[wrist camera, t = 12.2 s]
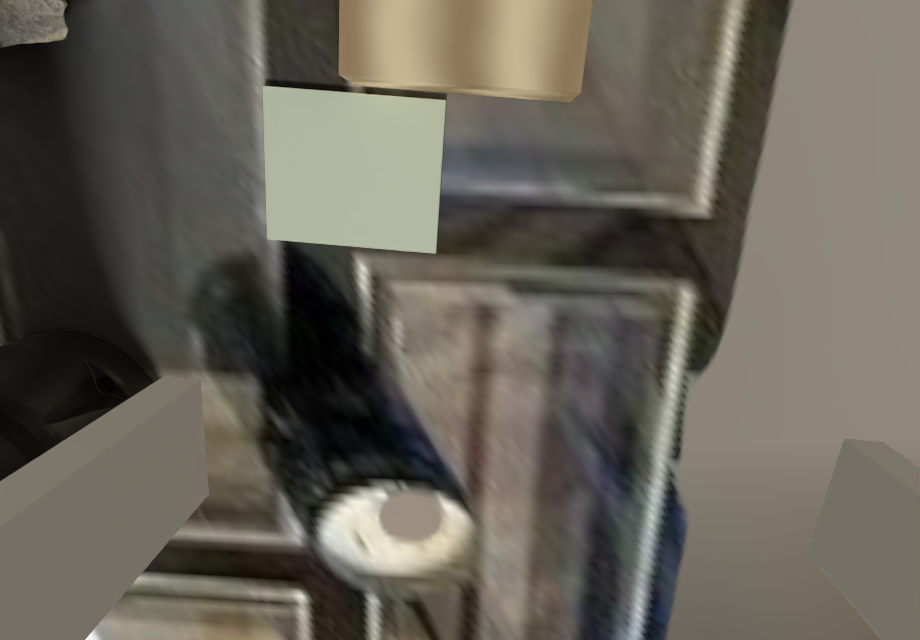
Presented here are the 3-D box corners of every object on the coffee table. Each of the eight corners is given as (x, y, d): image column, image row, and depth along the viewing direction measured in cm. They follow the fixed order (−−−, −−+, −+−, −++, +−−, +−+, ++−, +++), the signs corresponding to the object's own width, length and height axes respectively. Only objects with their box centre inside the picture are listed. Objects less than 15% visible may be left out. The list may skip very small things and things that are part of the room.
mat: (269, 238, 37) (267, 239, 36) (265, 86, 34) (262, 85, 33) (436, 252, 36) (435, 253, 36) (446, 100, 33) (445, 100, 33)
